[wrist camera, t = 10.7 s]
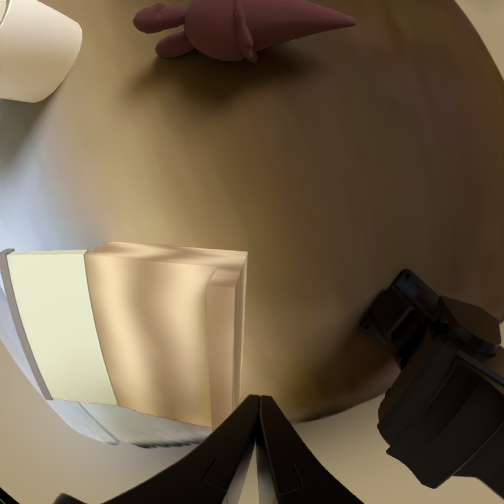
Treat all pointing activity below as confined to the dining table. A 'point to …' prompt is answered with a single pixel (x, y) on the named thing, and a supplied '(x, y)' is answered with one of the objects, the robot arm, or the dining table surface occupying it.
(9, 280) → the panel
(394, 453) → the robot arm
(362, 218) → the dining table surface
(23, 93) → the mug
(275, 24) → the icecream
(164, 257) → the cream and gold block
